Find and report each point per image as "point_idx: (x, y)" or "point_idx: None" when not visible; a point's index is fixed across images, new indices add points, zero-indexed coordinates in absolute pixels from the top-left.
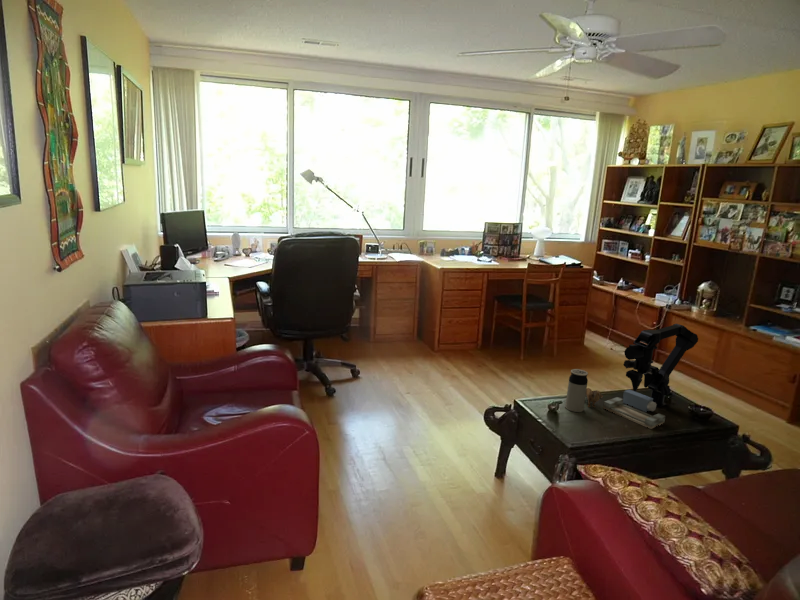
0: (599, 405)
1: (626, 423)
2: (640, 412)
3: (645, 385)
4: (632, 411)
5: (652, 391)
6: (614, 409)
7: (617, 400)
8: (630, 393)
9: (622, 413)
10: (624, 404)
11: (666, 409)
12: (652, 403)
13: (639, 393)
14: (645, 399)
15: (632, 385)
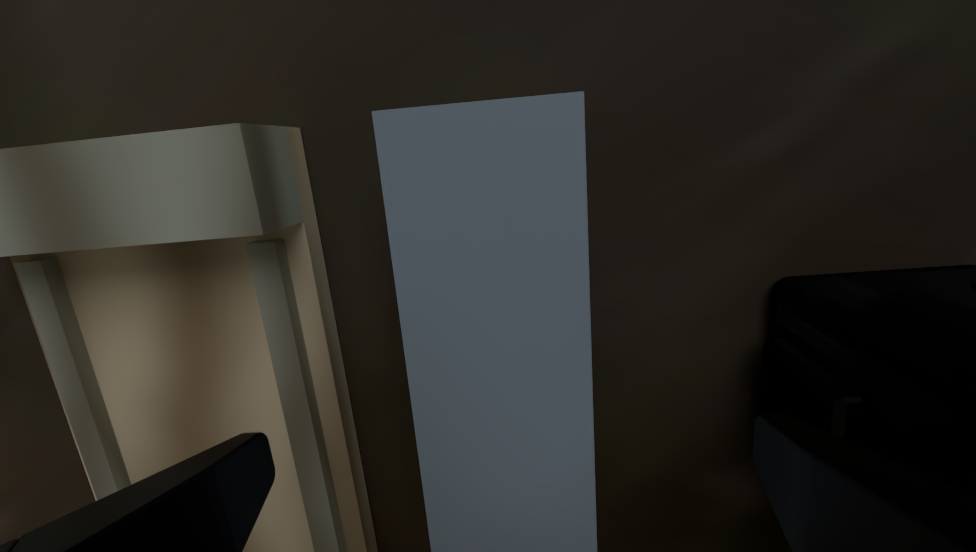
0: (24, 64)
1: (29, 504)
2: (303, 484)
3: (780, 480)
4: (251, 414)
5: (923, 425)
6: (31, 308)
7: (126, 226)
8: (393, 263)
9: (74, 406)
10: (278, 267)
11: None
12: None
13: (573, 344)
14: (429, 533)
15: (75, 519)
